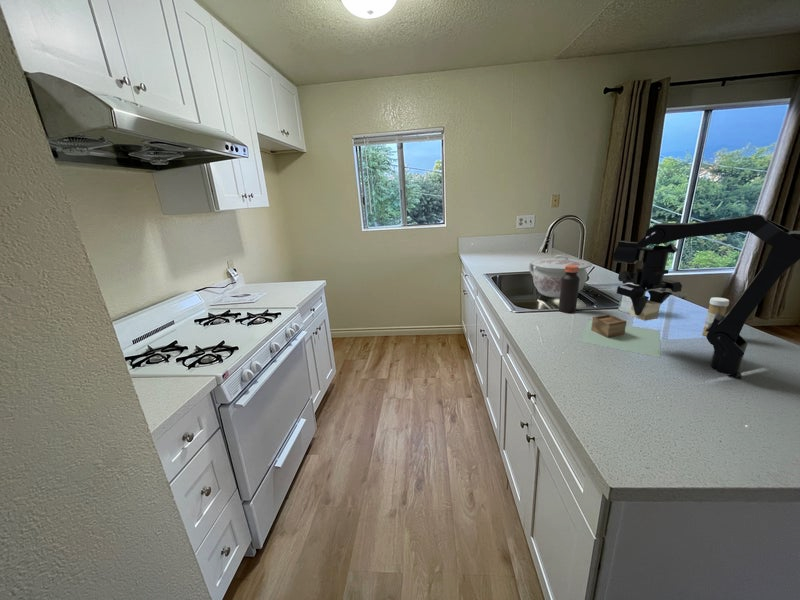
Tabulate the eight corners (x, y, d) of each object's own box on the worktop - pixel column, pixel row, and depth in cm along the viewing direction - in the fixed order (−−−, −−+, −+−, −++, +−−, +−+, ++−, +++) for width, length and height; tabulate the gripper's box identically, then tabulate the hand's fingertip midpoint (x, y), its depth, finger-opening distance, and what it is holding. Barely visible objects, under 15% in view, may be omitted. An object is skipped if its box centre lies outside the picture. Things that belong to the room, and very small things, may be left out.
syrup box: (627, 308, 139) (632, 276, 135) (640, 312, 134) (647, 279, 129) (617, 310, 138) (622, 277, 133) (630, 314, 132) (636, 280, 128)
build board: (659, 359, 97) (660, 357, 97) (578, 343, 110) (579, 341, 110) (659, 332, 115) (659, 330, 115) (589, 321, 128) (589, 319, 128)
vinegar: (571, 314, 136) (577, 268, 130) (555, 310, 141) (560, 266, 135) (578, 310, 140) (583, 265, 134) (562, 307, 145) (567, 264, 139)
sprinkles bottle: (721, 339, 107) (732, 301, 103) (703, 337, 110) (713, 300, 106) (717, 334, 111) (727, 297, 107) (699, 332, 113) (708, 296, 109)
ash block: (657, 318, 99) (660, 303, 98) (644, 320, 98) (647, 305, 97) (642, 313, 104) (645, 298, 102) (629, 315, 103) (632, 300, 101)
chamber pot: (597, 303, 147) (603, 259, 141) (534, 303, 152) (538, 260, 146) (576, 286, 174) (580, 249, 167) (523, 287, 179) (526, 250, 172)
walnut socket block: (624, 334, 113) (626, 321, 111) (607, 337, 111) (609, 323, 110) (607, 327, 119) (609, 314, 118) (591, 330, 118) (592, 317, 116)
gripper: (652, 258, 105) (643, 302, 110) (605, 264, 101) (598, 309, 106) (688, 264, 95) (677, 313, 100) (638, 271, 91) (628, 321, 96)
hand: (643, 314), depth 101 cm, fingers closed on ash block, 5 cm apart
